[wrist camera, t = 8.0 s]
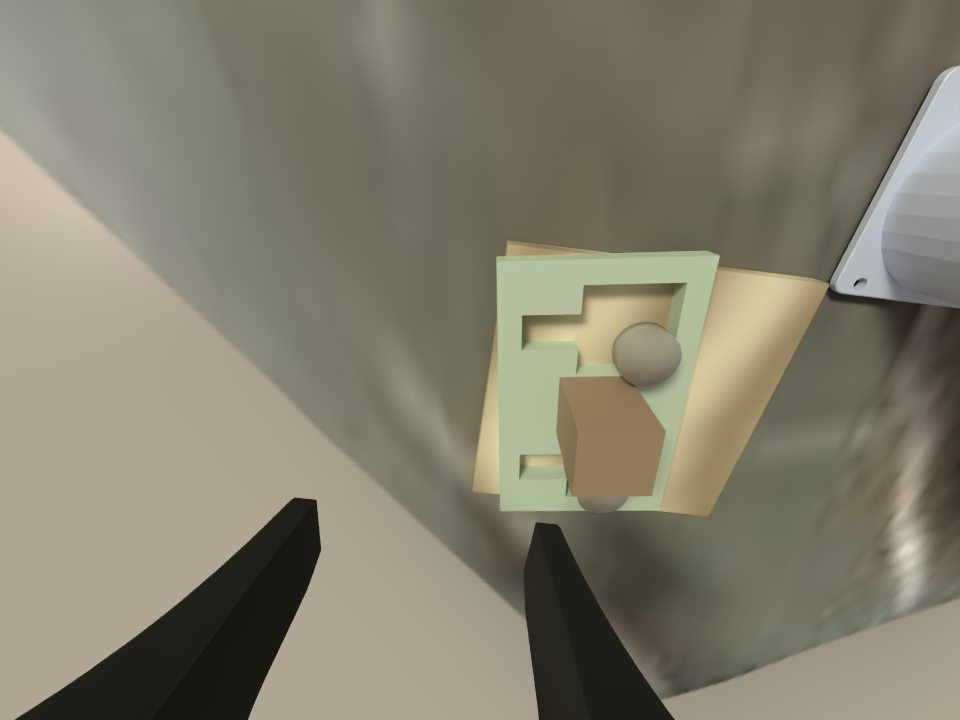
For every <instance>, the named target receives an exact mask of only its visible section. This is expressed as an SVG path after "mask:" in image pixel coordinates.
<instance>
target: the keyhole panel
mask: <svg viewBox="0 0 960 720" xmlns="http://www.w3.org/2000/svg"><path fill="white" fill-rule="evenodd" d="M719 257H720V256H719V255H717V254H714V253H711V252H709V251H678V252H642V253H606V254H569V255H533V256H497V257H496V264H497V341H498V418H499V495H500V511H586V510H585V509H583V508H582V507H581V506H580V504H579V503H578V500H577V497H589V496H628V499H627V501H626V502H625V504H624V505H623V506H622V507H620V508H619V509H617V510H615V511H637V510H660V507H661V503H662V499H663V494H664V490H665V486H666V482H667V477H668V473H669V469H670V465H671V461H672V456H673V452H674V448H675V444H676V439H677V435H678V431H679V427H680V422H681V418H682V414H683V410H684V406H685V401H686V397H687V393H688V389H689V384H690V380H691V376H692V372H693V367H694V363H695V359H696V355H697V351H698V346H699V342H700V338H701V334H702V329H703V325H704V321H705V317H706V312H707V308H708V304H709V300H710V296H711V291H712V287H713V283H714V279H715V274H716V270H717V266H718V262H719ZM649 283H675V286H674V292H673V297H672V302H671V307H670V312H669V318H668V323H667V328H666V330H667V331H668V332H669V333H670V334H671V335H672V336H673V337H674V338H675V339H677V341H678V342H679V344H680V346H681V350H682V358H681V362H680V365H679V367H678V368H677V370H676V371H675V372H674V374H673V375H672V376H670V377H669V378H668V379H667V380H665V381H663V382H661V383H659V384H656V385H652V386H637V385H634V384H632V383H630V382H628V381H627V380H626V379H625V378H624V377H623V376H622V374H621V373H620V371H619V370H618V368H617V366H616V365H615V364H577V357H578V349H577V347H576V345H575V342H574V341H528V342H522V315H565V314H581V311H582V300H583V289H584V285H609V284H649ZM546 454H561V455H562V459H563V463H564V466H519V465H520V455H546ZM564 467H565V470H564ZM565 471H566V474H565ZM566 475H567V478H566ZM567 479H568V483H567Z"/></svg>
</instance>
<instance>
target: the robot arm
mask: <svg viewBox="0 0 960 720" xmlns="http://www.w3.org/2000/svg"><path fill="white" fill-rule="evenodd" d="M858 279H859V282H858V284H857V285H856V286H854V283H855V282H856V281H857V280H858ZM853 286H854V287H853ZM830 288H831V289H832V290H833V291H836V292H838V293H841V294H848V295H856V296H864V297H872V298H880V299H888V300H896V301H904V302H912V303H920V304H928V305H936V306H944V307H953V308H960V66H956V67H951V68H949V69H947V70H945V71H944V72H943V73H941V74H940V75H939V76H938V78H937V79H936V80H935V82H934V84H933V85H932V87H931V89H930V91H929V93H928V95H927V97H926V99H925V101H924V103H923V105H922V106H921V108H920V110H919V112H918V114H917V116H916V118H915V120H914V122H913V124H912V126H911V127H910V129H909V131H908V133H907V135H906V137H905V139H904V141H903V143H902V145H901V147H900V148H899V150H898V152H897V154H896V156H895V158H894V160H893V162H892V164H891V166H890V168H889V169H888V171H887V173H886V175H885V177H884V179H883V181H882V183H881V185H880V187H879V189H878V190H877V192H876V194H875V196H874V198H873V200H872V202H871V204H870V206H869V208H868V210H867V211H866V213H865V215H864V217H863V219H862V221H861V223H860V225H859V227H858V229H857V231H856V232H855V234H854V236H853V238H852V240H851V242H850V244H849V246H848V248H847V250H846V252H845V253H844V255H843V257H842V259H841V261H840V263H839V265H838V267H837V269H836V271H835V273H834V274H833V276H832V278H831V281H830ZM320 552H321V543H320V533H319V522H318V511H317V501H316V500H313V499H303V498H293V499H292V500H291V501H290V502H289V503H287V504H286V505H285V506H284V508H282V510H280V512H279V513H277V514H276V515H275V516H274V517H273V518H272V519H271V520H270V521H269V522H268V523H267V524H266V525H265V526H264V527H263V528H262V529H261V530H260V531H259V532H258V533H257V534H256V535H255V536H254V537H253V538H252V539H251V540H249V542H247V543H246V544H245V545H244V546H243V547H242V548H241V549H240V550H239V551H238V552H236V554H234V555H233V556H232V557H231V558H230V559H229V560H228V561H227V562H226V563H225V564H224V565H222V566H221V567H220V568H219V569H218V570H217V571H216V572H215V573H213V574H212V575H211V576H210V577H209V578H207V579H206V580H205V581H204V582H203V583H202V584H201V585H200V586H198V587H197V588H196V589H195V590H193V591H192V592H191V593H190V594H189V595H188V596H186V597H185V598H184V599H183V600H182V601H180V602H179V603H178V604H177V605H176V606H174V607H173V608H172V609H171V610H169V611H168V612H167V613H166V614H164V615H163V616H162V617H161V618H159V619H158V620H157V621H155V622H154V623H153V624H152V625H150V626H149V627H148V628H146V629H145V630H144V631H142V632H141V633H140V634H138V635H137V636H136V637H135V638H133V639H132V640H130V641H129V642H128V643H126V644H125V645H124V646H122V647H121V648H119V649H118V650H117V651H115V652H114V653H113V654H111V655H110V656H109V657H107V658H106V659H104V660H103V661H101V662H100V663H99V664H97V665H96V666H94V667H93V668H92V669H90V670H89V671H88V672H86V673H85V674H83V675H82V676H80V677H79V678H78V679H76V680H74V681H73V682H72V683H70V684H69V685H67V686H66V687H64V688H63V689H61V690H60V691H58V692H57V693H55V694H54V695H52V696H50V697H49V698H48V699H46V700H44V701H43V702H41V703H40V704H38V705H37V706H35V707H34V708H32V709H30V710H29V711H28V712H26V713H24V714H23V715H21V716H20V717H18V718H17V719H15V720H248V718H249V715H250V713H251V710H252V708H253V705H254V703H255V700H256V698H257V696H258V694H259V691H260V689H261V687H262V684H263V682H264V680H265V678H266V676H267V674H268V672H269V669H270V667H271V665H272V663H273V661H274V659H275V657H276V655H277V653H278V650H279V648H280V646H281V644H282V642H283V640H284V638H285V636H286V634H287V631H288V629H289V627H290V625H291V623H292V621H293V619H294V617H295V614H296V612H297V610H298V608H299V606H300V603H301V602H302V599H303V597H304V595H305V593H306V591H307V589H308V586H309V583H310V580H311V578H312V575H313V572H314V569H315V566H316V563H317V560H318V557H319V554H320ZM524 591H525V612H526V620H527V628H528V636H529V644H530V652H531V658H532V667H533V673H534V682H535V690H536V698H537V705H538V715H539V720H674V718H673V717H672V716H671V714H670V713H669V711H668V710H667V709H666V707H665V706H664V705H663V703H662V702H661V700H660V699H659V698H658V696H657V695H656V693H655V692H654V691H653V689H652V688H651V686H650V685H649V684H648V682H647V681H646V679H645V678H644V676H643V675H642V673H641V672H640V670H639V669H638V668H637V666H636V664H635V663H634V661H633V660H632V658H631V657H630V655H629V654H628V652H627V651H626V649H625V648H624V646H623V644H622V643H621V641H620V640H619V638H618V636H617V635H616V633H615V631H614V630H613V628H612V626H611V625H610V623H609V621H608V620H607V618H606V616H605V615H604V613H603V611H602V609H601V608H600V606H599V604H598V602H597V600H596V599H595V597H594V595H593V593H592V591H591V590H590V588H589V586H588V584H587V582H586V580H585V578H584V577H583V575H582V573H581V571H580V569H579V567H578V565H577V563H576V561H575V559H574V557H573V555H572V553H571V551H570V548H569V546H568V544H567V542H566V540H565V538H564V535H563V533H562V531H561V529H560V527H559V526H558V525H557V524H547V523H537V522H536V525H535V528H534V532H533V536H532V540H531V544H530V548H529V552H528V556H527V560H526V564H525V568H524Z"/></svg>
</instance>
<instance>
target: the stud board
mask: <svg viewBox="0 0 960 720" xmlns="http://www.w3.org/2000/svg"><path fill="white" fill-rule="evenodd" d="M569 254H606V252H598V251H590V250H582V249H575V248H567V247H559V246H551V245H543V244H535V243H527V242H519V241H511V240H507V243H506V250H505V256H533V255H569ZM829 285H830V284H828V283H825V282H822V281H819V280H816V279H813V278H806V277H798V276H790V275H782V274H774V273H766V272H758V271H750V270H742V269H734V268H726V267H718V266H717V270H716V274H715V279H714V283H713V287H712V291H711V296H710V300H709V304H708V308H707V312H706V317H705V321H704V325H703V329H702V334H701V338H700V342H699V346H698V351H697V355H696V359H695V363H694V367H693V372H692V376H691V380H690V384H689V389H688V393H687V397H686V401H685V406H684V410H683V414H682V418H681V422H680V427H679V431H678V435H677V439H676V444H675V448H674V452H673V456H672V461H671V465H670V469H669V473H668V477H667V482H666V486H665V490H664V494H663V499H662V503H661V507H660V510H654V511H663V512H673V513H683V514H692V515H702V516H709V514H710V512H711V510H712V508H713V506H714V504H715V502H716V500H717V499H718V497H719V495H720V493H721V491H722V489H723V487H724V485H725V483H726V481H727V479H728V478H729V476H730V474H731V472H732V470H733V468H734V466H735V464H736V462H737V460H738V459H739V457H740V455H741V453H742V451H743V449H744V447H745V445H746V443H747V441H748V440H749V438H750V436H751V434H752V432H753V430H754V428H755V426H756V424H757V422H758V421H759V419H760V417H761V415H762V413H763V411H764V409H765V407H766V405H767V403H768V402H769V400H770V398H771V396H772V394H773V392H774V390H775V388H776V386H777V384H778V382H779V381H780V379H781V377H782V375H783V373H784V371H785V369H786V367H787V365H788V363H789V362H790V360H791V358H792V356H793V354H794V352H795V350H796V348H797V346H798V344H799V343H800V341H801V339H802V337H803V335H804V333H805V331H806V329H807V327H808V325H809V324H810V322H811V320H812V318H813V316H814V314H815V312H816V310H817V308H818V306H819V304H820V303H821V301H822V299H823V297H824V295H825V293H826V291H827V289H828V287H829ZM674 286H675V283H649V284H609V285H584V289H583V300H582V311H581V314H565V315H522V342H528V341H574V342H575V345H576V347H577V349H578V357H577V364H615V365H616V366H617V368H618V370H619V371H620V373H621V374H622V376H623V377H624V378H625V379H626V380H627V381H628V382H630V383H632V384H634V385H637V386H652V385H656V384H659V383H661V382H663V381H665V380H667V379H668V378H669V377H670V376H672V375H673V374H674V372H675V371H676V370H677V368H678V367H679V365H680V362H681V358H682V350H681V346H680V344H679V342H678V341H677V339H675V338H674V337H673V336H672V335H671V334H670V333H669V332H668V331H667V330H666V328H667V323H668V318H669V312H670V307H671V302H672V297H673V292H674ZM519 466H564V463H563V459H562V455H561V454H546V455H520V465H519ZM564 470H565V467H564ZM565 474H566V471H565ZM566 478H567V475H566ZM567 483H568V479H567ZM472 492H482V493H491V494H499V418H498V341H497V313H496V320H495V327H494V334H493V341H492V348H491V355H490V362H489V369H488V376H487V383H486V390H485V397H484V404H483V411H482V418H481V425H480V432H479V439H478V446H477V453H476V460H475V467H474V474H473V485H472ZM627 499H628V496H589V497H577V500H578V503H579V504H580V506H581V507H582V508H583V509H585V510H586V511H588V512H591V513H596V514H605V513H610V512H613V511H615V510H617V509H619V508H620V507H622V506H623V505H624V504H625V502H626V501H627Z"/></svg>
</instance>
